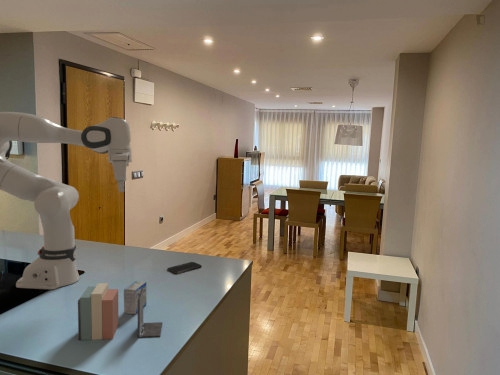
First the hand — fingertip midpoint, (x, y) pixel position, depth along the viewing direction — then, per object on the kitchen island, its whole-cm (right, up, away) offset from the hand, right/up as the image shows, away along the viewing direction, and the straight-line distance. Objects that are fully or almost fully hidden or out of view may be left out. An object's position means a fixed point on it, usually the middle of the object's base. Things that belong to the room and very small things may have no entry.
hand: (121, 192), depth 144 cm
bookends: (+13, -42, -34) cm, 56 cm away
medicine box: (+12, -41, -19) cm, 47 cm away
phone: (+21, -37, +23) cm, 48 cm away
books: (+6, -42, -35) cm, 55 cm away
